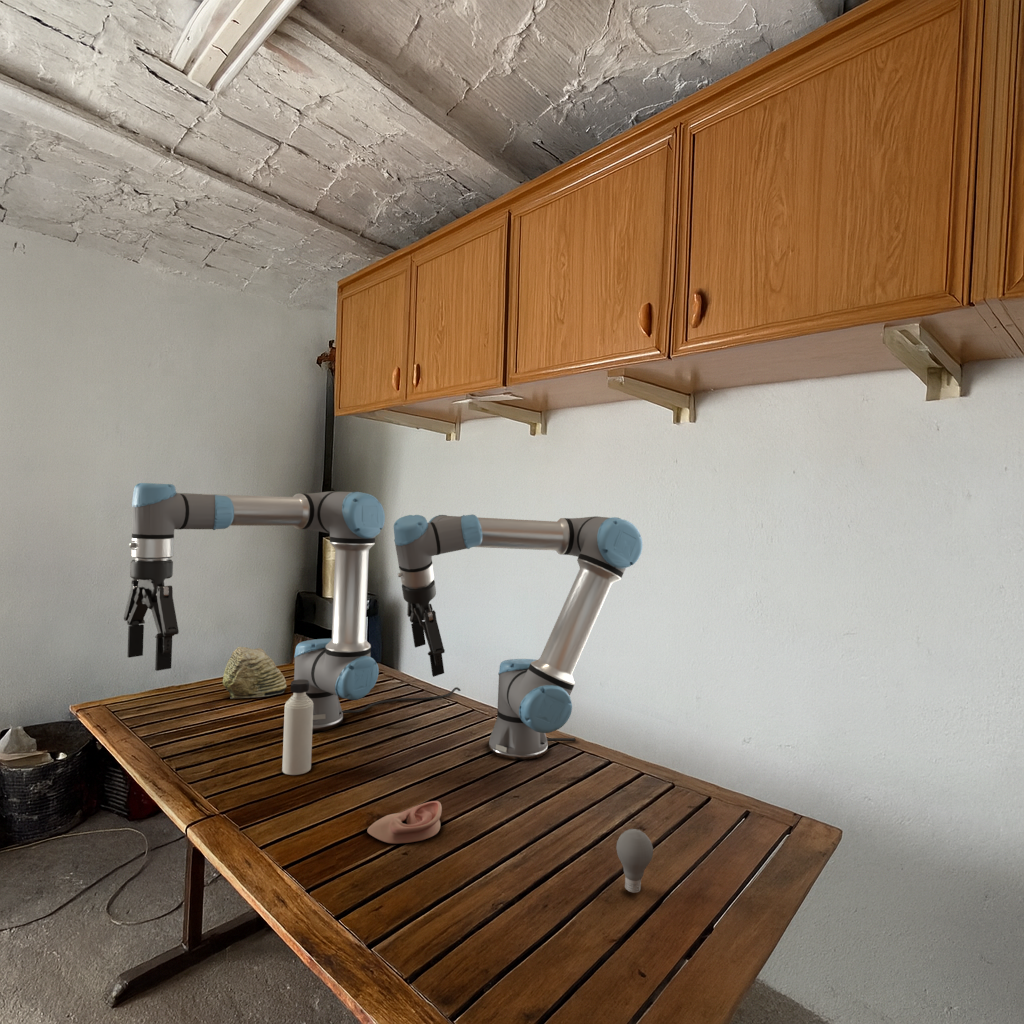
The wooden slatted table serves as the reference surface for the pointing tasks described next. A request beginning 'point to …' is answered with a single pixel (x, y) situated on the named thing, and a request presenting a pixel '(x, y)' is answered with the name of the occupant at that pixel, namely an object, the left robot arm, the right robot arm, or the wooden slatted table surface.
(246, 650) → the fossil
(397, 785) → the wooden slatted table surface
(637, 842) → the light bulb
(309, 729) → the bottle
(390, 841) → the anatomical model
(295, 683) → the cap
